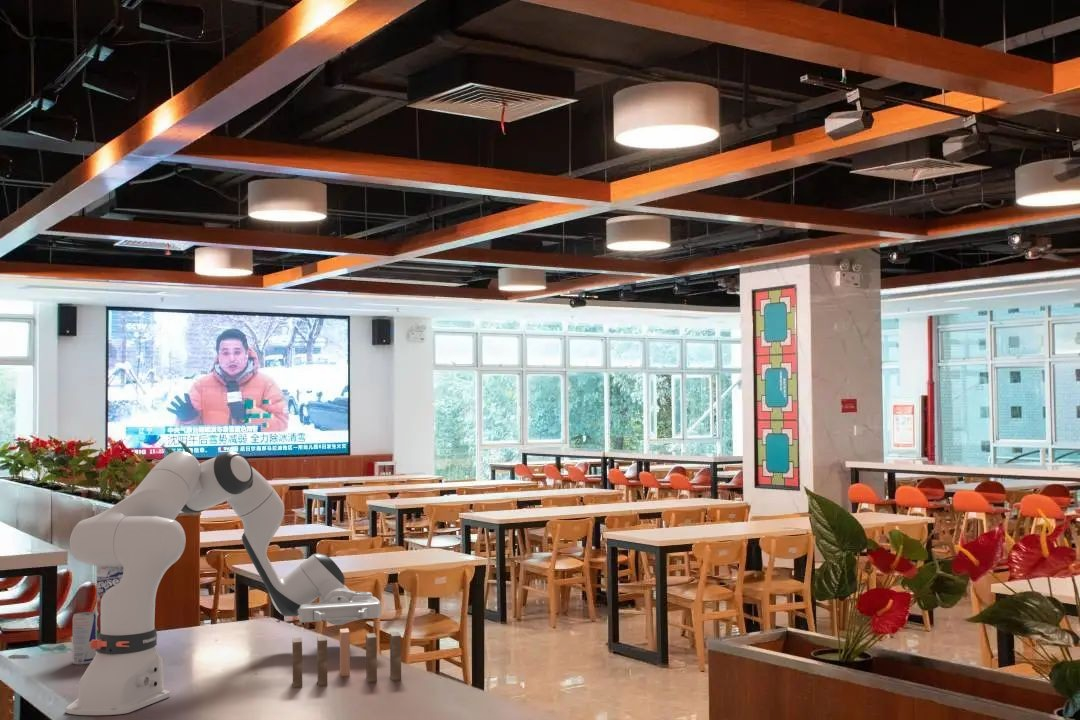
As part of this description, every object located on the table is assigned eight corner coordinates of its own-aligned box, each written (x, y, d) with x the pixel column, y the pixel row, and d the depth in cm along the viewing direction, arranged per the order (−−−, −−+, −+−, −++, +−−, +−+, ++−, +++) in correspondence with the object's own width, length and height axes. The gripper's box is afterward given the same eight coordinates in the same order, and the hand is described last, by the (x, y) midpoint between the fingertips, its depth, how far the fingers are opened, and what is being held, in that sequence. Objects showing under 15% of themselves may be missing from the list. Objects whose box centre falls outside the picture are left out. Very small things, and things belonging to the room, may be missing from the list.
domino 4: (368, 682, 253) (367, 637, 253) (366, 677, 257) (365, 633, 258) (377, 681, 253) (376, 637, 254) (375, 677, 258) (374, 633, 258)
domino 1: (293, 687, 249) (292, 642, 249) (292, 682, 254) (292, 638, 254) (302, 687, 249) (302, 641, 250) (301, 682, 254) (301, 637, 255)
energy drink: (99, 660, 281) (99, 611, 282) (88, 664, 276) (89, 615, 277) (79, 660, 282) (79, 611, 283) (68, 664, 277) (68, 615, 277)
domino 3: (341, 676, 259) (340, 632, 260) (339, 671, 264) (339, 628, 264) (349, 675, 260) (349, 632, 260) (348, 671, 264) (348, 628, 265)
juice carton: (123, 647, 297) (123, 544, 299) (145, 651, 291) (145, 546, 292) (92, 652, 290) (92, 547, 292) (113, 657, 284) (114, 550, 285)
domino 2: (318, 686, 250) (318, 640, 251) (317, 681, 255) (317, 636, 255) (327, 685, 251) (327, 640, 251) (326, 680, 255) (326, 636, 256)
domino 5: (392, 680, 254) (392, 636, 255) (390, 676, 259) (389, 632, 259) (401, 680, 255) (400, 635, 255) (399, 675, 259) (398, 631, 260)
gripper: (296, 596, 285) (298, 606, 271) (377, 591, 290) (383, 600, 276) (297, 621, 285) (298, 632, 271) (378, 616, 289) (383, 626, 276)
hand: (341, 616), depth 274 cm, fingers open, 8 cm apart
